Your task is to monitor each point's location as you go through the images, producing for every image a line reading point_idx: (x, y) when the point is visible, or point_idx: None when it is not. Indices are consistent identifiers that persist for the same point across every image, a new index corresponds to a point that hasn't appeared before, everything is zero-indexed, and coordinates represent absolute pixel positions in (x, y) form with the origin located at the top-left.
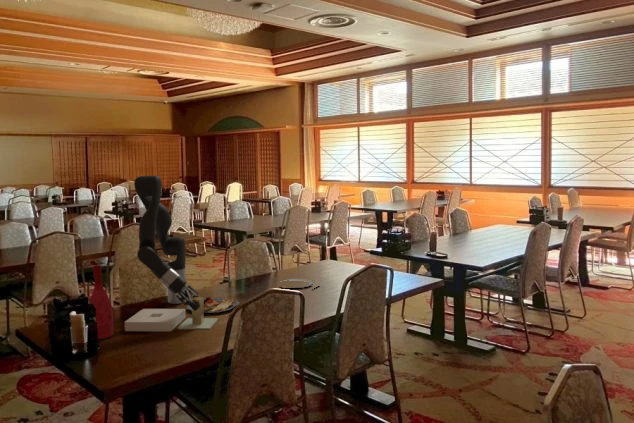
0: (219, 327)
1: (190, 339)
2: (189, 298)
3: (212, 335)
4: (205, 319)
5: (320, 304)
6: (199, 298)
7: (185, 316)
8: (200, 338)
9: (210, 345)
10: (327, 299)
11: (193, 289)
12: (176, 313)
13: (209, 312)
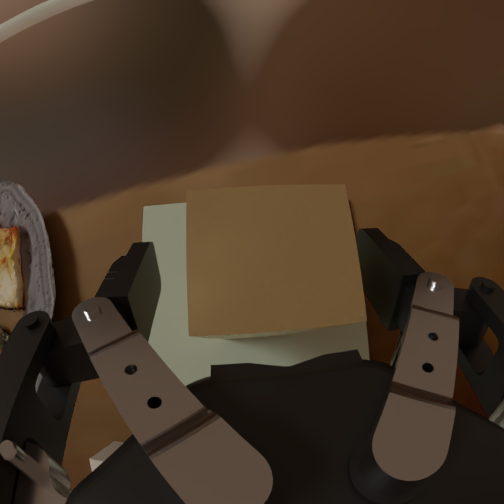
0: (298, 158)
1: (480, 246)
2: (445, 310)
3: (415, 164)
4: (170, 281)
5: (49, 8)
6: (266, 219)
7: (114, 443)
8: (460, 206)
9: (489, 153)
10: (18, 18)
11: (6, 397)
12: None
13: (54, 289)
